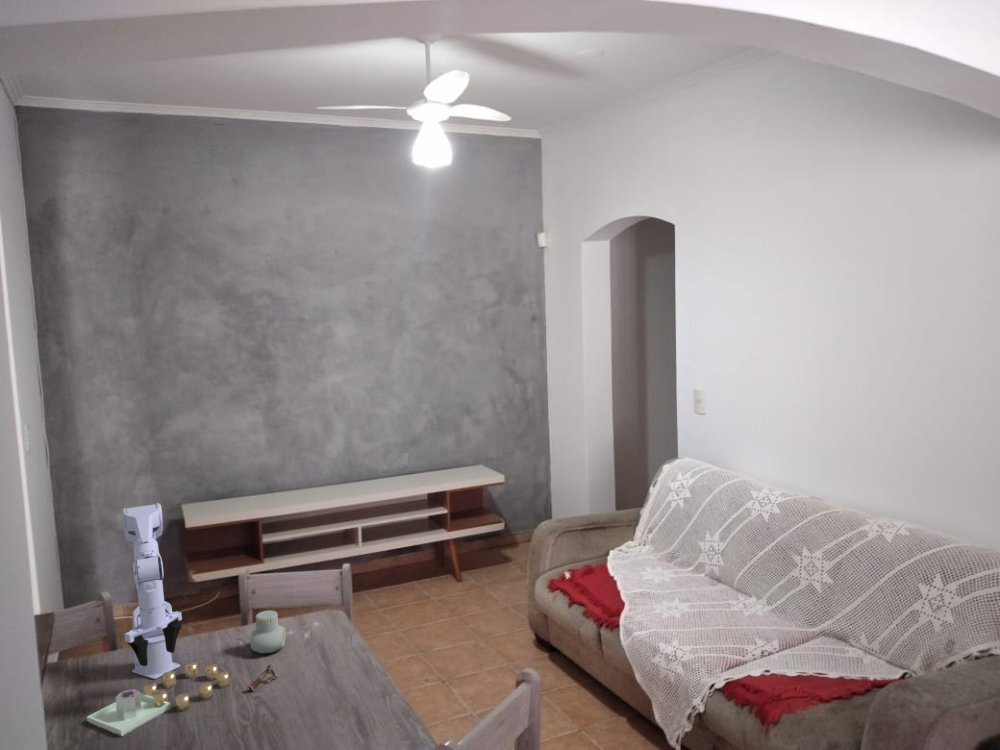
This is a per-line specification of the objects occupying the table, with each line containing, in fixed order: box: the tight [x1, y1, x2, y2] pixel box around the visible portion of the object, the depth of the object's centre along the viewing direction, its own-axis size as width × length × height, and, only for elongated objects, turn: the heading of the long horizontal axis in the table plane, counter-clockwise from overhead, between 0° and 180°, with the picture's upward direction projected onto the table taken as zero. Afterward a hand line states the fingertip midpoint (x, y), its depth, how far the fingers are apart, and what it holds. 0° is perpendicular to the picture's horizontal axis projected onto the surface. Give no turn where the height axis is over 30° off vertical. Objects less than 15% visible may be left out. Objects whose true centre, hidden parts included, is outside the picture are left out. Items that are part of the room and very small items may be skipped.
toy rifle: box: [246, 663, 278, 693], centre depth 200 cm, size 2×8×4 cm, turn 142°
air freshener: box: [249, 609, 287, 654], centre depth 220 cm, size 11×8×10 cm
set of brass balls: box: [143, 661, 231, 713], centre depth 198 cm, size 17×18×3 cm
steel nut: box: [115, 688, 142, 720], centre depth 188 cm, size 5×4×5 cm
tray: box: [86, 692, 172, 737], centre depth 188 cm, size 13×13×2 cm
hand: (157, 658), depth 196 cm, fingers open, 7 cm apart
